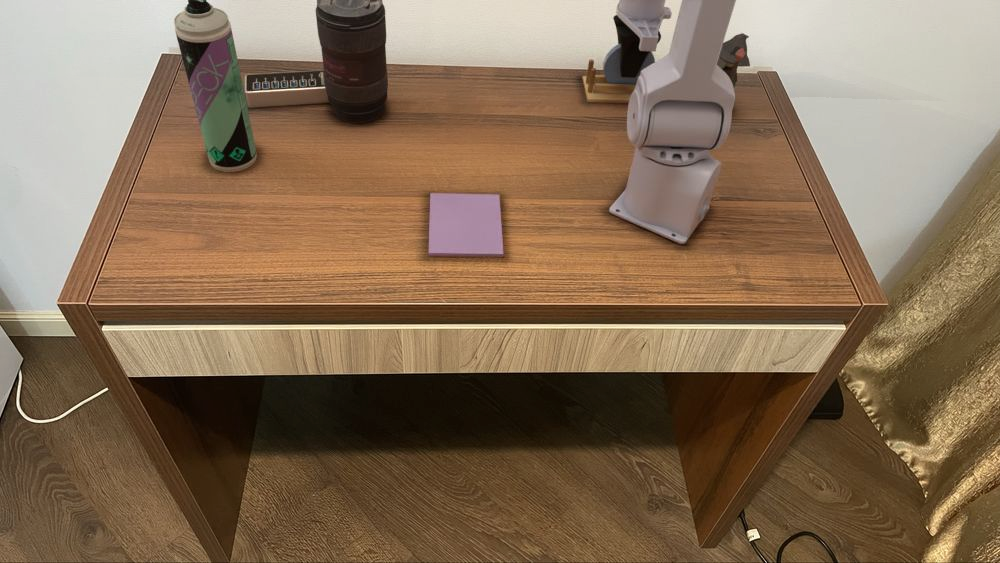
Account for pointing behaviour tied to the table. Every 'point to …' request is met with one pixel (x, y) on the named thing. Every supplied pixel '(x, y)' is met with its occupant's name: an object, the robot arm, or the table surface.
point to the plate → (613, 67)
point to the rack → (605, 88)
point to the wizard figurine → (733, 56)
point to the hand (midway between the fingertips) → (627, 73)
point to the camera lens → (354, 57)
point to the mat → (465, 225)
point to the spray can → (216, 85)
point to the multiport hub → (285, 88)
